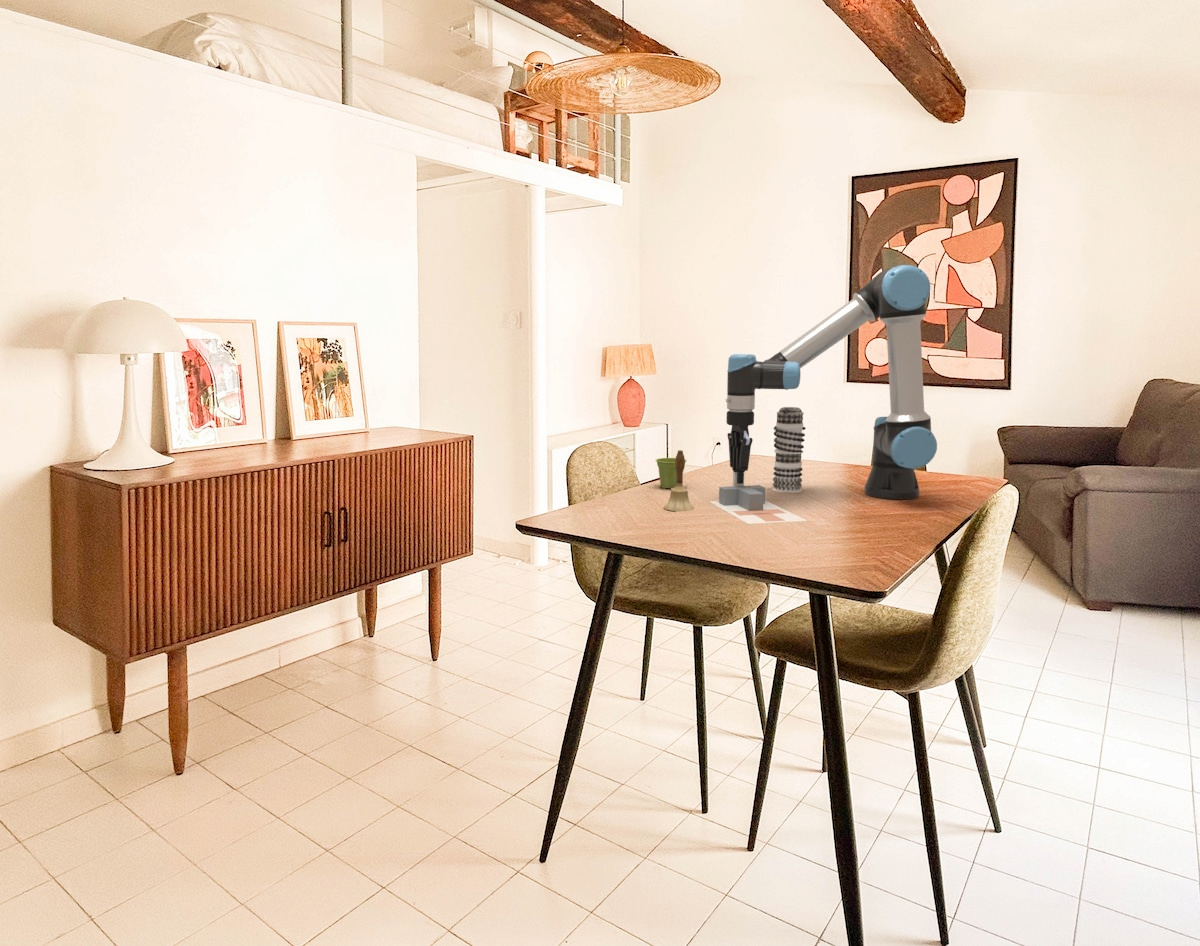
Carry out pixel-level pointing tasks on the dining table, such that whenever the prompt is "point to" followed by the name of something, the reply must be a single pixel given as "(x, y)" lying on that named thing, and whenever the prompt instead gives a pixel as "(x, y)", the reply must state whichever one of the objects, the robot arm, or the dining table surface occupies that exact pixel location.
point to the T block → (743, 496)
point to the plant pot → (667, 472)
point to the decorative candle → (788, 450)
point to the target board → (760, 513)
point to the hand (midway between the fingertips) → (738, 494)
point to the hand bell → (679, 489)
